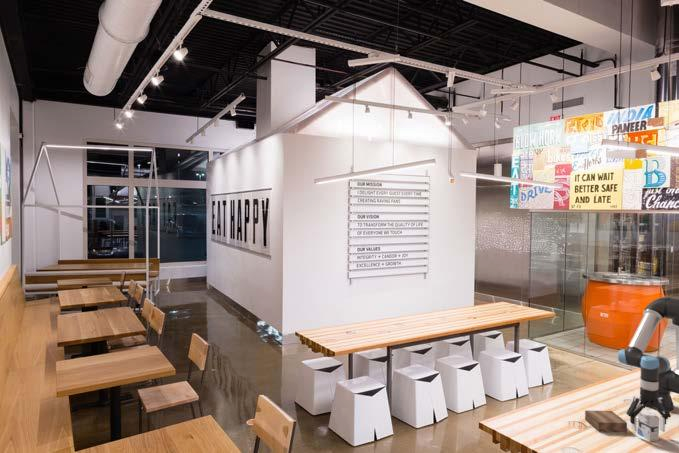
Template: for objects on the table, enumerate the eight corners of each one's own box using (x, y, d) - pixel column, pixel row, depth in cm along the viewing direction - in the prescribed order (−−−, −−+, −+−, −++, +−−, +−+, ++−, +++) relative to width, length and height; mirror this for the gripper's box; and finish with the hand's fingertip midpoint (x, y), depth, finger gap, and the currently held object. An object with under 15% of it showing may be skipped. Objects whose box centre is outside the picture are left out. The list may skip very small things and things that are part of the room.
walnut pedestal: (611, 420, 248) (611, 410, 248) (626, 432, 234) (627, 422, 234) (585, 419, 249) (585, 410, 248) (598, 432, 235) (598, 422, 234)
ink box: (636, 432, 234) (637, 410, 233) (646, 432, 234) (646, 409, 234) (649, 441, 225) (650, 417, 225) (659, 440, 226) (659, 417, 225)
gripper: (669, 385, 232) (668, 427, 233) (619, 384, 233) (618, 426, 234) (680, 391, 225) (678, 434, 226) (627, 390, 226) (626, 433, 226)
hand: (648, 430), depth 230 cm, fingers open, 13 cm apart
